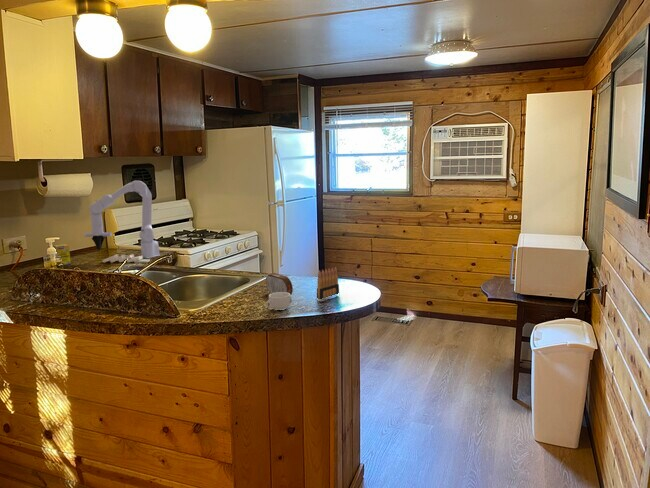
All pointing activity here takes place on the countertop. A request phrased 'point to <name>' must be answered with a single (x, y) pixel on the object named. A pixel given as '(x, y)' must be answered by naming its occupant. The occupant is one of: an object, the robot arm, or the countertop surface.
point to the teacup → (279, 300)
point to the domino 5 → (142, 261)
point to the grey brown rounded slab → (278, 283)
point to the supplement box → (63, 253)
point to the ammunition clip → (327, 283)
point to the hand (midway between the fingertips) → (99, 249)
